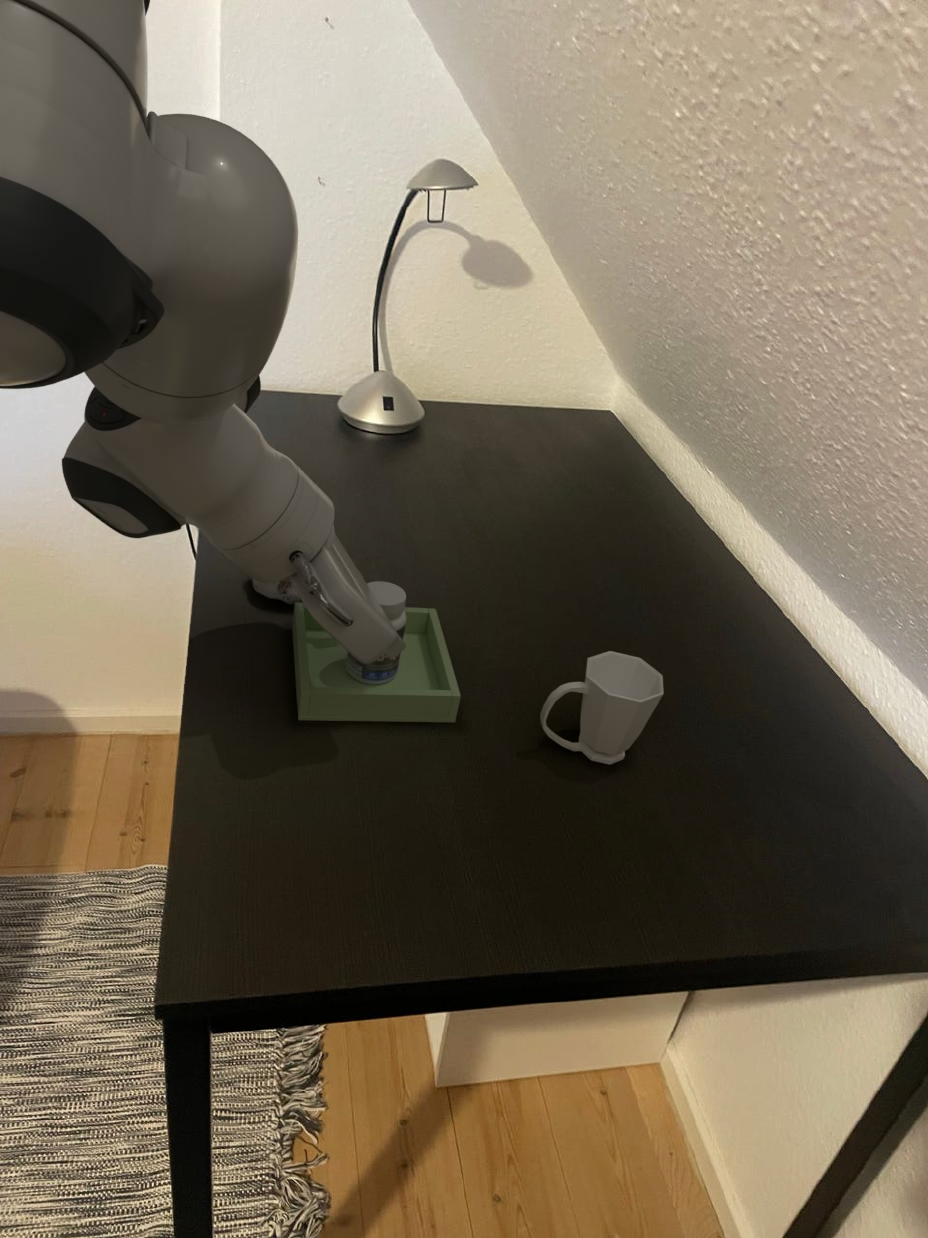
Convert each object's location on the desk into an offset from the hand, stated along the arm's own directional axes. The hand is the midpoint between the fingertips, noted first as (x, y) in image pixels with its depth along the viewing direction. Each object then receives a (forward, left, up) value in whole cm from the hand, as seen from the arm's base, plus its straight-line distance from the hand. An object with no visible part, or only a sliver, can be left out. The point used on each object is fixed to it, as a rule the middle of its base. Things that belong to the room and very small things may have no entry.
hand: (378, 617), depth 83 cm
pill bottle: (0, 0, -6) cm, 6 cm away
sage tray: (0, 0, -6) cm, 6 cm away
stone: (-6, +13, -6) cm, 15 cm away
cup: (+18, -10, -6) cm, 22 cm away
